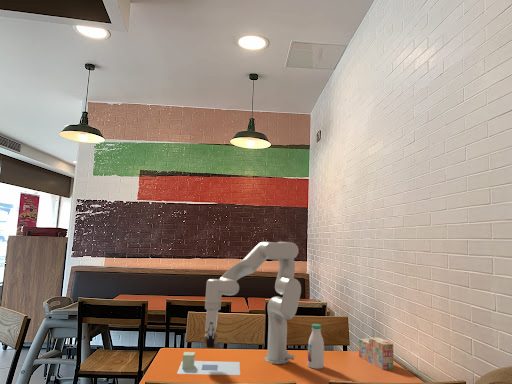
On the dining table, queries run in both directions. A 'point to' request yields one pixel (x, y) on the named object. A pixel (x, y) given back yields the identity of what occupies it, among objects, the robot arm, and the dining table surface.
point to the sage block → (188, 360)
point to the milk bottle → (316, 348)
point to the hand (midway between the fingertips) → (210, 344)
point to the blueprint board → (212, 368)
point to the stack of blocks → (377, 352)
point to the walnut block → (206, 340)
